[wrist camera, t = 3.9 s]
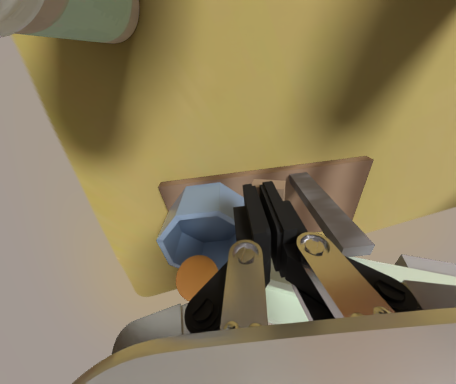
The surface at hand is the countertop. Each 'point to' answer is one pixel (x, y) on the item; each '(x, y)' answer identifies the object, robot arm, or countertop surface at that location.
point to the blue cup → (200, 224)
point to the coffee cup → (70, 19)
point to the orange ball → (194, 275)
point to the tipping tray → (402, 270)
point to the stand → (307, 196)
